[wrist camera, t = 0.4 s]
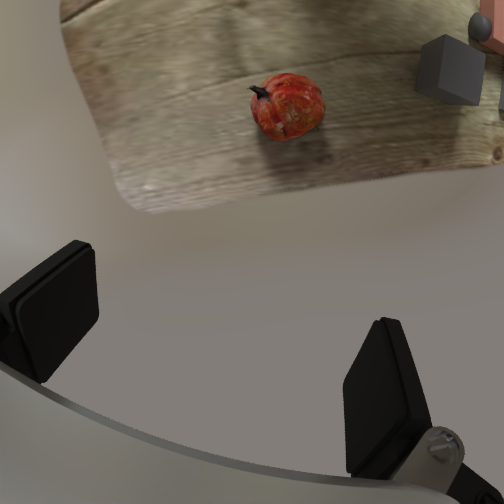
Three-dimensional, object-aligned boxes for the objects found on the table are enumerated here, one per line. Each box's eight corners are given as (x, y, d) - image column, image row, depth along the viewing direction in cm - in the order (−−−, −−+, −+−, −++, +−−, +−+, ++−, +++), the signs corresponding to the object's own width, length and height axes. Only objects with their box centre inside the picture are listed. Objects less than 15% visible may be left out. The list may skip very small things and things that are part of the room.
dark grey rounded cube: (422, 45, 27) (445, 34, 21) (458, 61, 27) (485, 54, 21) (414, 90, 30) (437, 87, 24) (451, 105, 30) (478, 105, 23)
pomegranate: (328, 95, 34) (271, 43, 27) (358, 128, 30) (297, 68, 23) (284, 135, 38) (222, 92, 31) (306, 173, 33) (237, 127, 27)
